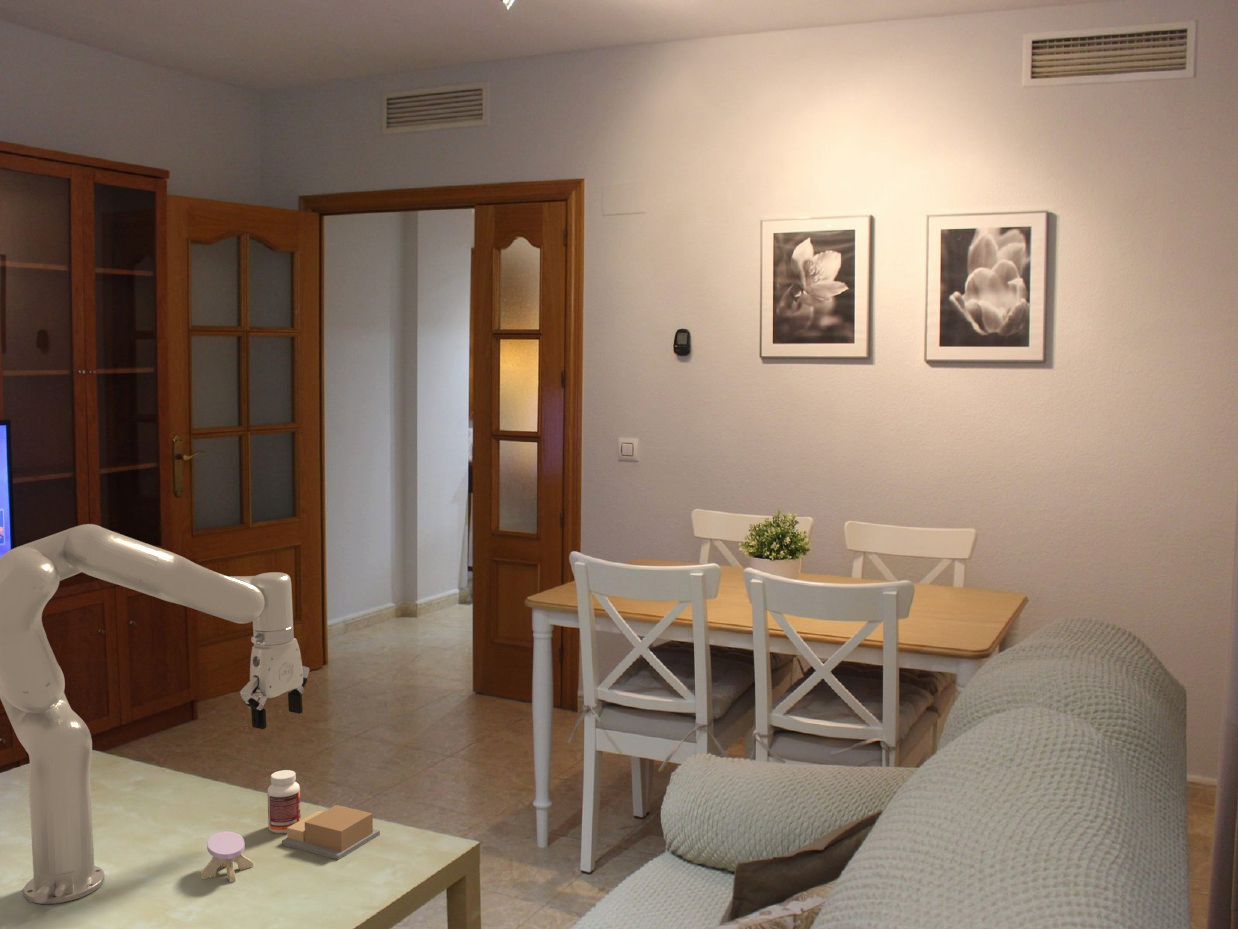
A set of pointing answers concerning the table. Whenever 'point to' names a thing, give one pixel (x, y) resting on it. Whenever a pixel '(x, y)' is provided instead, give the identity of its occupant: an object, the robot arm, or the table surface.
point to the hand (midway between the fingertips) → (277, 720)
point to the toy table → (226, 854)
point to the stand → (332, 832)
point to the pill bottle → (283, 801)
